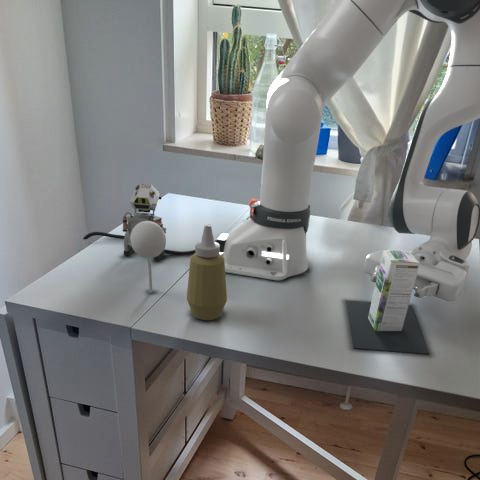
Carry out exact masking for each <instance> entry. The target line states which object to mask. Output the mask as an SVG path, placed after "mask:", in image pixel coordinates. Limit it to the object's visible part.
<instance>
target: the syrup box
mask: <svg viewBox="0 0 480 480" xmlns="http://www.w3.org/2000/svg"><path fill="white" fill-rule="evenodd" d="M385 250H386V251H383V254H382V259H381V263H380V268H379V272H378V276H377V280H376V283H375V285H374V289H373V293H372V297H371V298H372V299H371V307H370V311H369V316H368V319H369V321H370V323H371V325H372V327H373V328H374V330H375V331H402V328H403V324H404V320H405V317H406V313H407V309H408V305H410V302H411V298H412V294H413V290H414V289H413V287H414V283H415V279H416V276H417V272H418V268H419V265H420V262H418V261H417V259H416V258H415V257H414V255H413V254H412V253H411V252H410V251H409V250H402V249H385Z"/></svg>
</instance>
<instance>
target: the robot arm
mask: <svg viewBox="0 0 480 480" xmlns="http://www.w3.org/2000/svg"><path fill="white" fill-rule="evenodd" d="M407 12H410V13H412V14H414V15H416V16H418V17H419V18H421V19H423V20H425V21H428V22H431V23H435V24H443V23H446V25H447V26H448V27H449V30H450V34H451V46H450V47H451V48H450V54H449V59H448V64H447V69H446V73H445V76H444V78H443V79H444V80H443V81H442V84H441V86H440V88H439V89H438V91H437V93H436V94H435V96H434V97H432V98H430V99H428V100H427V101H426V102H425V104H424V106H423V108H422V110H421V113H420V115H419V117H418V120H417V123H416V126H415V128H414V132H413V134H412V135H413V136H412V138H411V142H410V144H409V147H408V151H407V153H406V157H405V161H404V162H403V166H402V170H401V173H400V176H399V179H398V183H397V185H396V187H395V189H394V192H393V194H392V197H391V199H390V201H389V205H388V210H387V218H388V221H389V223H390V224H391V226H392V228H393V229H394V230H395V231H396V232H397V233H398V234H407V235H408V234H409V235H422V236H427V237H429V239H428V240H426V241H425V242H422V244H420V245H418V246H416V247H414V248H413V249H411V250H410V251H409V252H411V253H412V254H413V255H414V257H415V258H416V259H417V261H418V262H420V265H419V268H418V272H417V276H416V279H415V283H414V287H413V290H414V291H415V292H414V295H413V296H414V297H416V298H418V299H421V300H423V298H424V297H435V298H437V299H441V300H444V301H446V302H455V301H456V300H457V299H458V298H459V297H460V296H461V294H462V291H463V288H464V287H465V283H466V281H467V278H468V275H469V269H470V263H469V262H468V261H467V259H468V258H469V256H470V254H471V252H472V247H473V241H474V239H475V237H476V236H477V232H478V229H479V225H480V204H479V202H478V199H477V197H476V196H475V195H474V193H473V192H472V191H470V190H464V189H457V188H443V187H436V186H435V187H434V186H427V185H425V184H424V179H425V177H426V172H427V170H428V166H429V164H430V161H431V157H432V155H433V152H434V149H435V146H436V144H437V142H438V141H439V139H440V138H441V137H442V136H443V135H444V134H445V133H447V132H449V131H451V130H453V129H456V128H458V127H460V126H463V125H466V124H469V123H472V122H475V121H477V120H480V0H334V1H333V3H332V5H331V6H330V7H329V8H328V10H327V11H326V12H325V14H324V16H322V18H321V20H320V21H319V22H318V24H317V25H316V27H315V28H314V30H313V31H311V33H310V35H309V36H308V37H307V38H306V39H305V41H304V42H303V43H302V45H301V46H300V47H299V49H298V50H297V51H296V52H295V54H294V55H293V56H292V57H291V59H290V60H289V61H288V63H287V64H285V66H284V67H283V69H282V70H281V72H280V73H279V75H278V76H277V77H276V78H275V79H274V81H273V82H272V84H271V85H270V87H269V90H268V92H267V98H266V109H265V110H266V111H265V121H264V123H265V125H264V138H263V139H264V140H263V145H264V151H263V165H262V167H261V181H260V196H259V200H258V199H257V198H254V197H253V198H251V199H250V201H249V206H248V207H249V208H250V209H249V210H250V211H249V215H250V218H249V219H248V220H247V219H246V220H244V221H243V222H241V223H240V224H239V225H237V226H236V227H234V228H232V229H231V230H230V232H228V233H226V232H221V233H220V235H219V236H218V237H217V238H216V240H215V239H214V242H217V243H218V244H219V245H220V254H221V255H222V256H223V257H224V260H225V273H227V274H234V275H240V276H247V277H254V278H259V279H265V280H270V281H271V280H273V281H278V282H279V281H283V280H285V279H288V278H289V277H293V276H298V275H301V274H303V273H306V271H307V270H308V269H309V263H308V253H307V232H308V230H309V227H310V219H311V205H310V199H311V192H312V191H311V190H312V184H313V183H312V182H313V173H314V168H315V163H316V157H317V151H318V146H319V140H320V133H321V126H322V121H323V113H324V110H323V109H324V107H325V106H326V105H327V104H328V102H330V100H331V99H332V98H333V97H334V96H335V95H336V94H337V92H339V90H340V89H342V87H343V86H344V85H345V84H347V82H348V81H349V80H350V79H352V78H353V77H354V76H355V75H356V73H357V72H358V71H359V70H360V68H361V67H362V66H363V65H364V63H365V62H366V61H367V59H368V58H369V57H370V56H371V55H372V53H373V52H374V51H375V50H376V48H377V47H378V45H379V44H380V43H381V42H382V40H383V39H384V37H386V35H387V34H388V33H389V32H390V30H391V29H392V27H393V26H394V25H395V24H396V23H397V22H398V20H400V19H401V17H402V16H403V15H405V14H406V13H407ZM94 236H102V237H107V238H112V239H120V240H124V237H125V235H121V234H113V233H108V232H104V231H92V232H89V233H87V234H85V235H84V236H83V238H82V240H84V241H85V240H88V239H89V238H92V237H94ZM164 250H165V254H167V255H168V254H169V255H174V256H188V255H193V254H195V249H193V250H187V251H179V250H171V249H165V248H164ZM386 250H387V249H381V250H377V251H374V252H372V253H369V254H367V256H365V259H364V264H363V271H364V273H365V274H366V275H370V276H371V278H370V282H372V283H375V284H376V280H377V276H378V272H379V268H380V263H381V259H382V254H383V251H386Z"/></svg>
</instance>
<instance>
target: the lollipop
mask: <svg viewBox="0 0 480 480" xmlns="http://www.w3.org/2000/svg"><path fill="white" fill-rule="evenodd" d="M166 237H167V236H166V233H164V231H163V229H162V228H161V227H160V226H159V225H158V224H156V223H154V222H151V221H143V222H140V223H138V224H137V225H136V226H135V227H134V228H133V230H132V232H131V236H130V241H131V245H132V248H133V249H134V253H135V254H137V255H138V256H139V257H142V258H145V259H147V275H148V292H149V294H153V273H152V258H153V259H154V257H156V256H158V255H159V254H161V253H162V251H163V250H164V249H165V247H166V244H167V238H166Z"/></svg>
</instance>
